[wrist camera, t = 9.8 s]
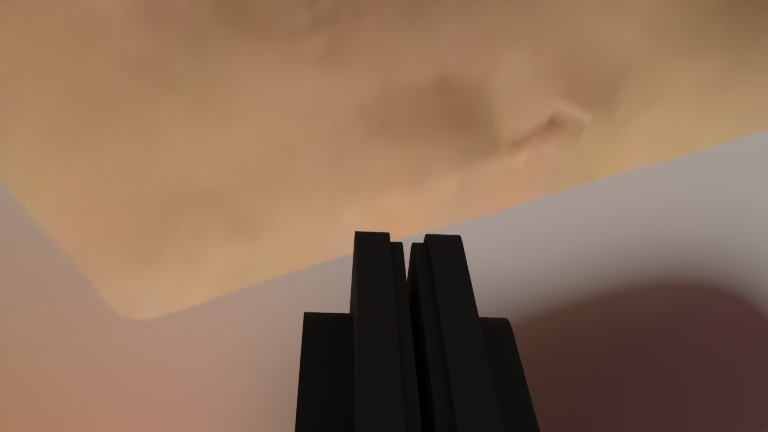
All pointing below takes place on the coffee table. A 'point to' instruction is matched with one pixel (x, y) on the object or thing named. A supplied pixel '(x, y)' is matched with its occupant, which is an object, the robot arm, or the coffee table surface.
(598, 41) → the coffee table surface
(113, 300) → the coffee table surface
